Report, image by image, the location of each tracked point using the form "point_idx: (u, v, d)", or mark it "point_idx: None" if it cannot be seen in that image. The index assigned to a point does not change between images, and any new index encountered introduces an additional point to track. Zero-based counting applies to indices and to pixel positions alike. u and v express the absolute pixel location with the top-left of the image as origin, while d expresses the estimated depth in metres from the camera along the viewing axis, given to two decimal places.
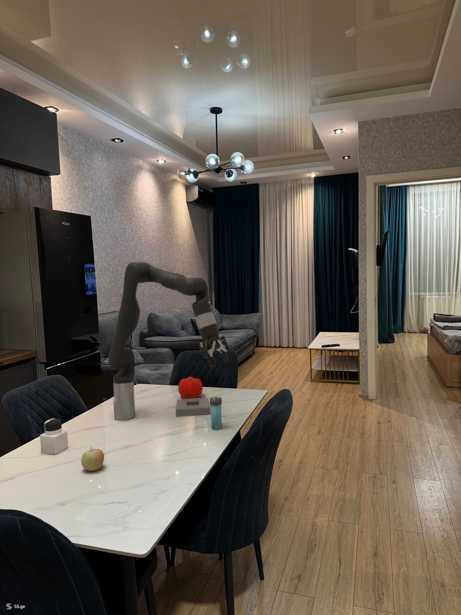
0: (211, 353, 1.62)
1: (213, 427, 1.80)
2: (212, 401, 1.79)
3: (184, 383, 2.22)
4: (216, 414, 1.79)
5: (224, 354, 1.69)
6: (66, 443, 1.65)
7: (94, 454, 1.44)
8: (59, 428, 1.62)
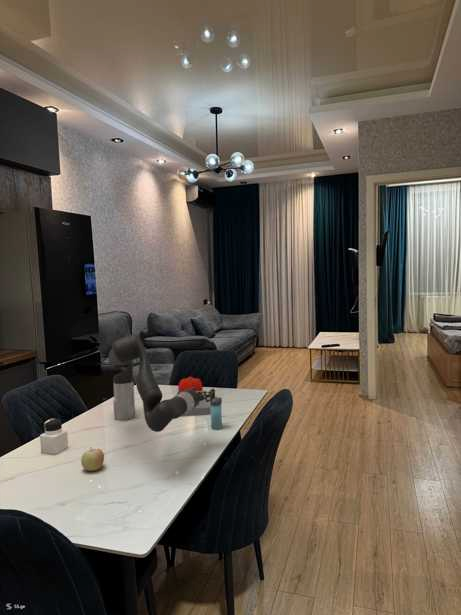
0: None
1: (213, 427, 1.80)
2: (212, 401, 1.79)
3: (184, 383, 2.22)
4: (216, 414, 1.79)
5: None
6: (66, 443, 1.65)
7: (94, 454, 1.44)
8: (59, 428, 1.62)
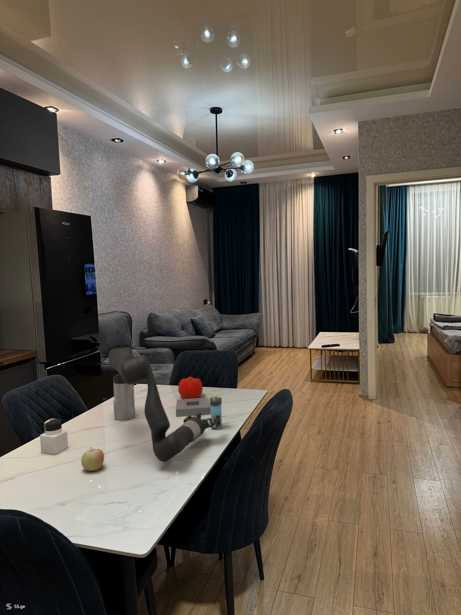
0: None
1: None
2: (212, 401, 1.79)
3: (184, 383, 2.22)
4: (215, 414, 1.79)
5: None
6: (66, 443, 1.65)
7: (94, 454, 1.44)
8: (59, 428, 1.62)
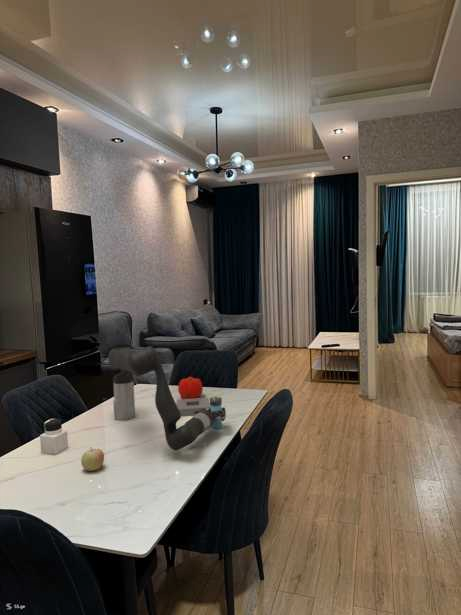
0: None
1: (213, 427, 1.80)
2: (212, 401, 1.79)
3: (184, 383, 2.22)
4: None
5: None
6: (66, 443, 1.65)
7: (94, 454, 1.44)
8: (59, 428, 1.62)
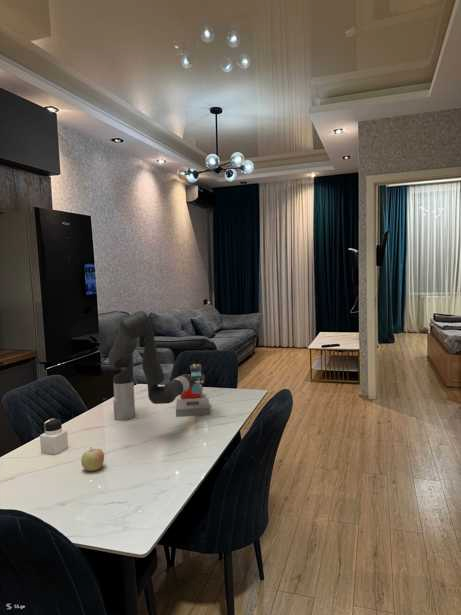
0: None
1: (193, 391, 1.98)
2: (192, 367, 1.97)
3: None
4: None
5: None
6: (66, 443, 1.65)
7: (94, 454, 1.44)
8: (59, 428, 1.62)
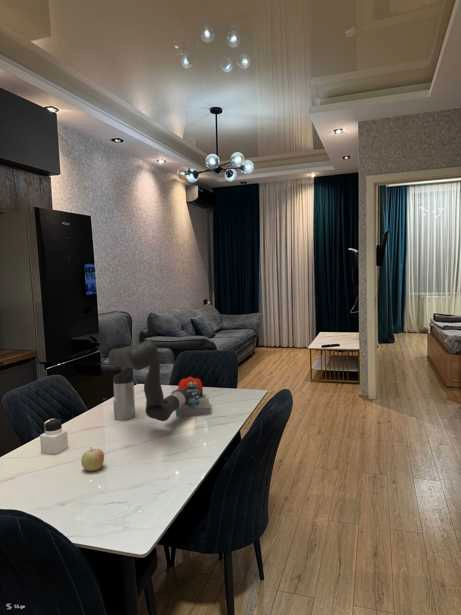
0: None
1: None
2: (189, 385, 2.04)
3: (184, 383, 2.22)
4: None
5: None
6: (66, 443, 1.65)
7: (94, 454, 1.44)
8: (59, 428, 1.62)
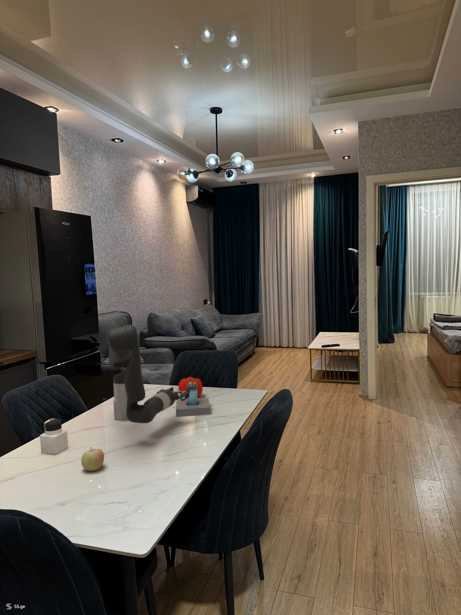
0: None
1: None
2: (189, 386, 2.03)
3: (184, 383, 2.22)
4: (192, 397, 2.04)
5: None
6: (66, 443, 1.65)
7: (94, 454, 1.44)
8: (59, 428, 1.62)
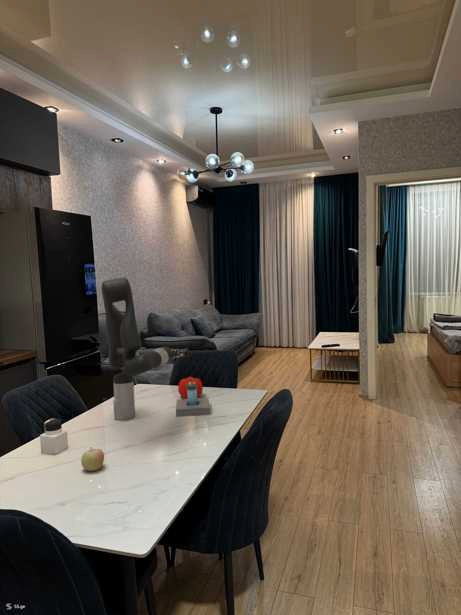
0: None
1: None
2: (188, 386, 2.03)
3: (184, 383, 2.22)
4: (191, 397, 2.04)
5: None
6: (66, 443, 1.65)
7: (94, 454, 1.44)
8: (59, 428, 1.62)
